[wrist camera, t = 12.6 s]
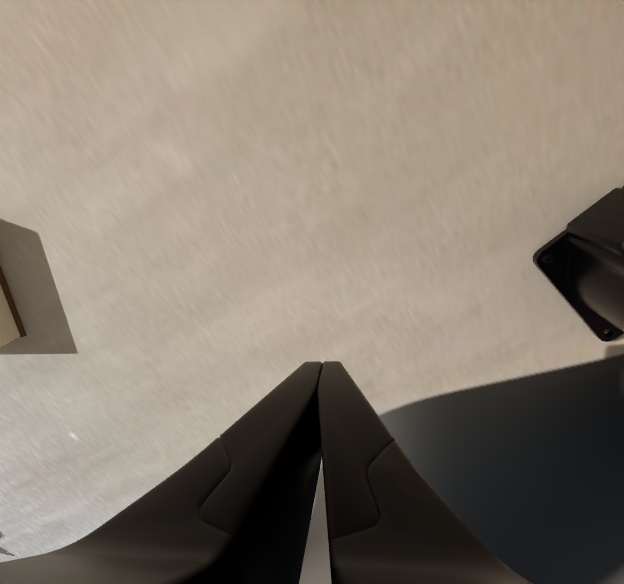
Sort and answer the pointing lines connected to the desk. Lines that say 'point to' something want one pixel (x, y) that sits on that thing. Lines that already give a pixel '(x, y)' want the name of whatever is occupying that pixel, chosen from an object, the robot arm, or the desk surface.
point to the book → (8, 316)
